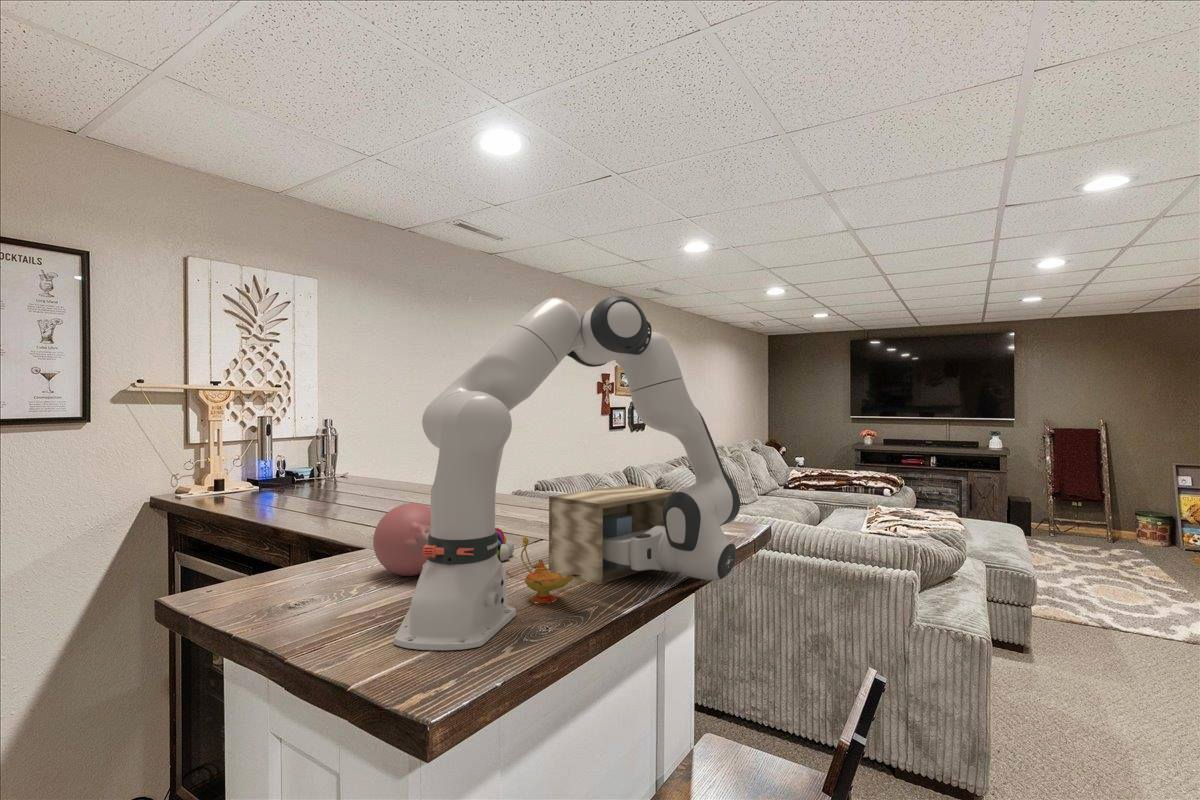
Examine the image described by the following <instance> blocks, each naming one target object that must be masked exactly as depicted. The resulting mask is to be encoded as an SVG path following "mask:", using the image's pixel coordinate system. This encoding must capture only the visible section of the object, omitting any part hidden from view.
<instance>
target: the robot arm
mask: <svg viewBox="0 0 1200 800" xmlns="http://www.w3.org/2000/svg"><path fill="white" fill-rule="evenodd" d="M674 352H675V351H674V350H673V348H672V346H671V344H670V342H669V340H668V338H667V337H666V336H665V335H663V334H662V333H660V332H657V331H652V325H651V323H650V321H648V319H647V318H646V315H645V313H644V311H643V310H642V309H641V307H640V306H639V305H638V304H637V302H635V301H634V300H633V299H631V298H629V297H627V296H624V295H623V296H622V295H617V296H610V297H607V298H604V299H603V300H601V301H599V302H598V303H597V304H596V305H595V306H592V307H591V308H590V309H588V310H586V311H581V310H578V309H576V308H575V307H574V305H572V304H571V303H569V302H568V301H567V300H565V299H562V298H560V297H550V298H547V299H545V300H543V301H542V302H540V303H539V304H537V305H536V306H535V307H533V308H532V309H531V310H529V311H528V312H527V313H526V314H525V315H523V316H522V317H521V318H520V319H519V320H517V322H516V323H515V324H513V326H512V327H511V328H510V329H509V330H508V331H507V332H506V333H505V334H504V335H503V336H502V337H501V338H500V339H499V340H498V341H497V342H496V343H495V345H494V346H492V347H491V348H490V350H488V352H487V353H485V355H484V356H483V357H481V358H480V359H479V360H478V361H476V362H475V363H474V364H473V365H472V366H471V367H469V368H468V369H467V370H466V371H465V372H463V373H462V374H461V375H460V376H458V378H456V379H455V380H454V381H453V382H452V383H451V384H450V385H448V386H447V387H446V388H445V389H444V390H443V391H442V392H441V393H440V394H438V396H437V397H436V398H435V399H433V400H432V401H431V402H430V403H429V404H428V405H427V407H426V408H425V409H424V411H423V415H422V417H421V418H422V420H421V427H422V429H423V432H424V434H425V436H426V438H427V440H428V441H429V442H430V443H431V444H432V445H433V446H434V447H435V448H437V449H438V460H437V464H436V465H437V466H436V471H435V476H434V481H433V483H432V485H431V489H430V507H431V532H430V534H429V536H428V542H427V545H425V546H424V547H423V548H424V549H423V557H424V558H426V559H427V561H426V563H425V564H424V565H423V568H422V571H421V574H419V577H418V580H417V583H416V584H415V585H416V586H415V587H414V591H413V594H412V597H411V601H410V607H409V609H407V610H408V611H407V612H406V614H405V616H404V618H403V620H402V623H400V626H399V628H398V629H397V632H396V633H395V635H394V637H393V644H394V645H396V646H398V647H401V648H405V649H410V650H411V649H413V650H420V651H421V650H422V651H457V650H459V651H460V650H468V649H474V648H479V647H482V646H483V645H484V644H486V643H487V642H488V641H489V640H491V638H493V637H494V636H495V635H496V634H497V633H499V631H501V629H503V628H504V627H505V626H506V625H507V624H508V623H510V621H512V620H513V618H515V617H516V616H517V609H516V608H515V607H513V606H511V605H508V589H507V588H508V587H507V585H508V583H507V568H506V566H505V565H504V564H503V563H502V561H501V560H500V558H499V556H497V555H496V553H497V552H498V538H497V532H496V531H495V528H496V490H497V482H498V476H499V471H500V466H501V462H502V457H503V452H504V447H505V445H506V443H507V441H508V440H509V438H510V436H511V432H512V427H513V423H512V422H513V421H512V416H511V413H510V412H511V411H512V410H513V409H514V408H516V407H518V405H520V404H521V403H523V402H524V401H526V400H527V399H530V397H531V396H532V395H533V393H534V392H535V391H536V390H537V389H538V388H540V386H541V384H542V383H544V381H545V380H546V379H547V378H548V377H549V376H550V374H551V373H552V372H553V371H554V370H555V369H556V368H557V366H558V365H560V363H561V362H562V361H563V360H564V359H565V357H566V356H567V357H569V358H571V359H573V361H575V362H576V363H578V364H580V365H582V366H585V367H588V368H595V367H596V368H597V367H601V366H604V365H606V364H608V363H611V362H612V361H614V362H615V363H616V364H617V365H618V366H619V367H620V368H621V369H622V371H623V374H624V376H625V377H626V381H627V385H628V389H629V393H630V398H631V401H632V405H633V407H634V411H635V412H636V414H637V416H638V419H639V421H641V422H642V423H643V424H645V425H646V426H647V427H649V428H651V429H653V430H657V431H659V432H663V433H666V434H669V435H671V436H673V437H675V438H676V439H677V440H678V441H679V442H680V443H681V444H682V446H683V448H684V450H685V454H686V456H687V458H688V460H689V463H690V465H691V468H692V470H693V471H692V472H693V474H694V476H695V483H694V484H692V485H690V486H686V487H683V488H681V489H679V490H677V491H676V492H675V493H672V494H671V495H669V496H668V497H667V499H666V500H665V503H664V506H663V520H664V526H665V527H664V526H655V527H653V528H650V529H646V530H642V531H638V532H632V533H629V534H625V535H621V536H616V537H610V536H604V537H603V559H605V560H608V561H611V562H614V563H617V564H621V565H628V566H630V565H631V569H632V570H636V571H640V572H642V571H641V570H643V571H650V570H651V571H652V570H653V571H654V570H655V571H664V572H668V573H680V574H683V576H685V577H689V578H693V579H697V580H698V579H699V580H704V581H705V580H706V581H720V580H722V579H724V578H726V577H727V576H728V575H729V574H730V573H731V572H732V571H733V567H735V564H736V560H737V546H736V545H735V543H734V542H732V541H731V540H730V539H729V538H728V537H727V535H726V534H725V533H724V531H723V530H722V528H721V526H725V525H726V524H730V523H731V522H733V521H734V520H735V519H736V518H737V516H738V515H739V513H740V510H741V498H740V497H741V496H740V494H739V491H738V489H737V487H736V486H735V484H734V482H733V481H732V479H731V478H730V476H729V475H728V474H727V472H726V470H725V468H724V466H723V463H722V461H721V459H720V455H719V453H718V450H717V448H716V445H715V443H714V440H713V437H712V435H711V433H710V430H709V428H708V425H707V423H706V421H705V419H704V416H703V414H702V413H701V412H700V411H699V409H698V408H697V407H696V406H695V405H694V403H693V400H692V398H691V396H690V394H689V391H688V389H687V386H686V384H685V380H684V376H683V373H682V370H681V368H680V365H679V361H678V359H677V357H676V354H675V353H674Z"/></svg>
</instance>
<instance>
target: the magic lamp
mask: <svg viewBox="0 0 1200 800" xmlns="http://www.w3.org/2000/svg"><path fill="white" fill-rule="evenodd" d="M529 542H530V541H529V538H528V537H527V536H525V535H523V537H522V547H523V549H522V551H521V553H520V560H521V561H522V563H523V565H524V566H525V568H526V569H527V571H528V572H529V574H527V575H526V576H525V578H524V582H525V584H526V586H527V587H528V589H531V590H532V591H535V592H537V593H536V594H535V595H533V596H531V597H530V598H531V601H533V602H538V603H548V602H552V601H554V600H555V599H556V598H557V597H556V596H554V595H552V594H551V593H550V592H552V591H556V590H559V589H561V588H563V587H566V586H567V585H568V584H570V583H571V581H572V580H574V579H576V578H575V577H580V576H581V575H580V574H575V575H570V576H567V575H565V576H564V577H563V576H562V574H560V573H557V572H553V571H550V570H549V568H547V566H546V565H545V564H544V561H543V559H538V562H536V563H535V565H532V563H531V561H530V559H529V555H528V551H527V547H528V545H529ZM524 552H525V555H526V559H527V562H528V564H529V566H530V567H531V568H533V569H534V571H532V570H531V569H530V567H528V565H527V563H526V562H525V560H524V557H523V555H524ZM531 601H530V602H531ZM548 604H549V603H548Z"/></svg>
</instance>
